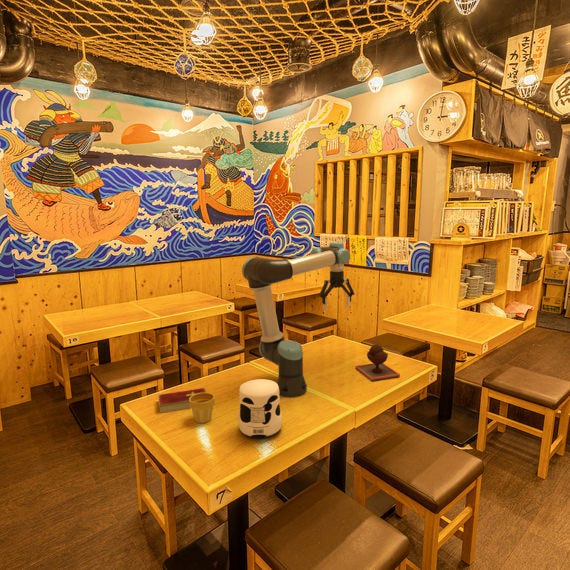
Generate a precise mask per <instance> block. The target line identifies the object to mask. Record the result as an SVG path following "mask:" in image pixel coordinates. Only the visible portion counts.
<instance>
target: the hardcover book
mask: <svg viewBox="0 0 570 570" xmlns="http://www.w3.org/2000/svg"><path fill="white" fill-rule="evenodd" d="M203 392H206V393H207V391H206V388H205V387H202V388H194V389H188V390H187V389H186V390H182V391H174V392H169V393H163V394H158V407H159V413H160V412H163V413H167V412H166V411H169V412H174V411H173V410H175V411H181V410H186V409H191V408H190V406H189V398H190V397H191V396H192V395H194V394H197V393H203ZM180 409H181V410H180Z"/></svg>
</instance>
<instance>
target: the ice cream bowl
mask: <svg viewBox="0 0 570 570" xmlns="http://www.w3.org/2000/svg"><path fill="white" fill-rule="evenodd" d="M388 356H389V353H387V352H386V351H384V348H383V347H382V346H381V344H377V343H375V344H372V345H371V346H370V348H369V349H368V351H367V352H366V357H367V359H368V360H369V362H371V363H374V364H375V365H376V368H374V369H372V372H374V373H382V370H381V369H380V368H379V364H382V363H384V364H385V362H386V361H387V360H388Z"/></svg>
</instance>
